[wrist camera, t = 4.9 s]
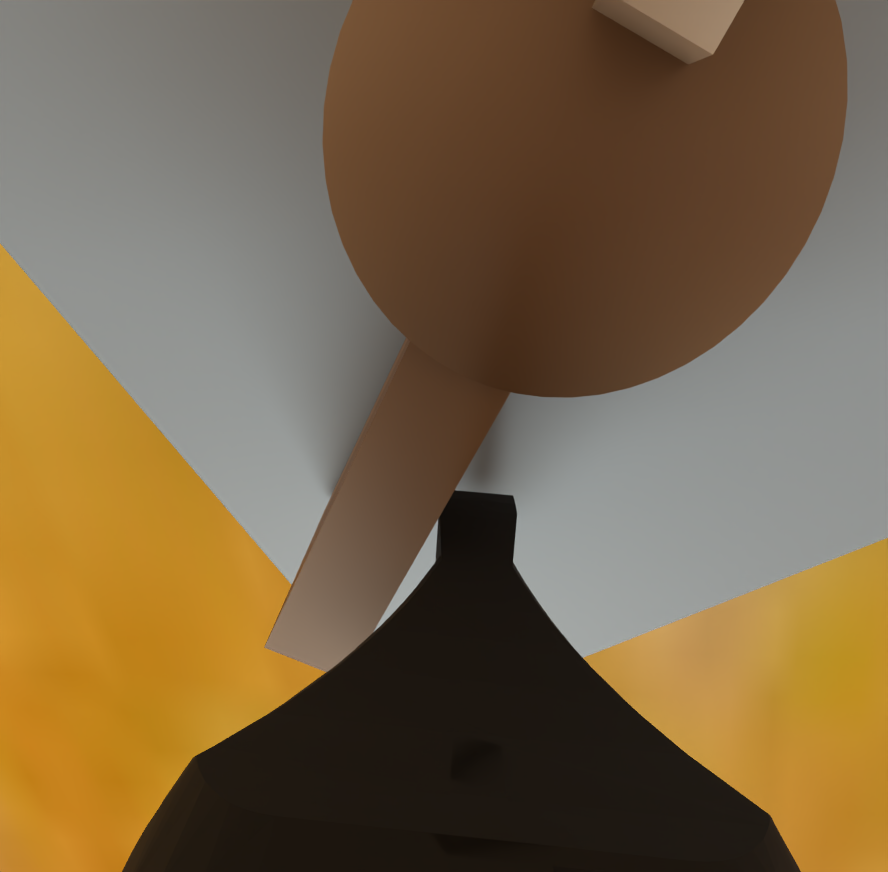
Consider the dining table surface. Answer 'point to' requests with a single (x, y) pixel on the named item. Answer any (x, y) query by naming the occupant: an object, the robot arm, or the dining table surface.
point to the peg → (547, 229)
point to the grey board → (378, 341)
